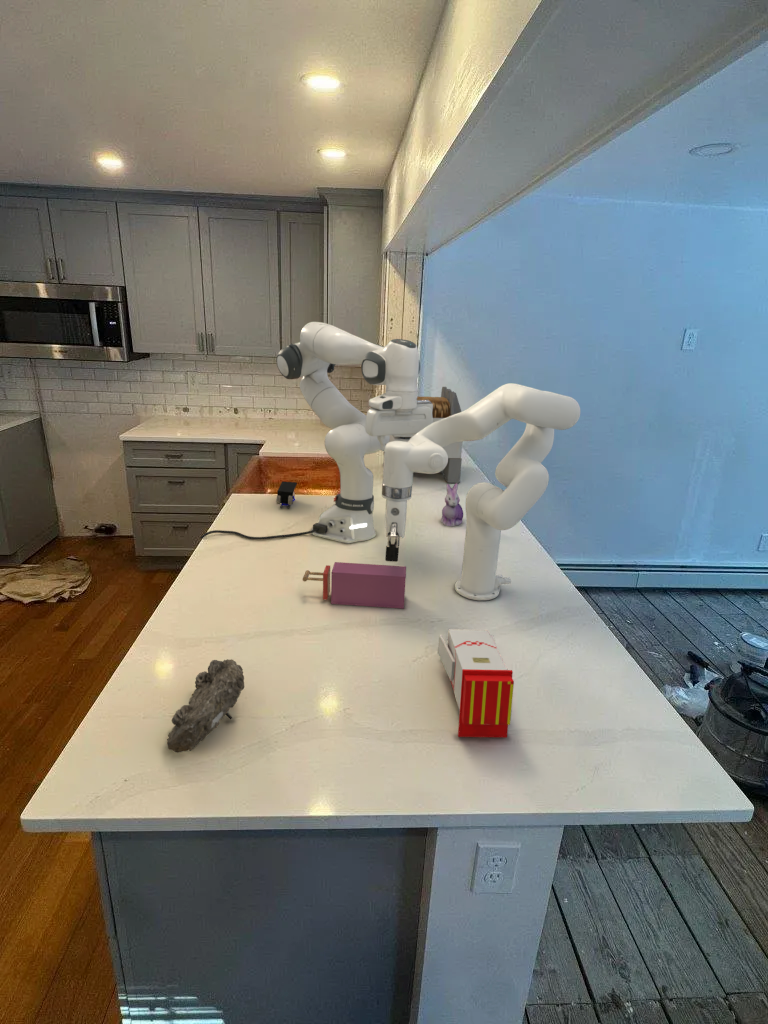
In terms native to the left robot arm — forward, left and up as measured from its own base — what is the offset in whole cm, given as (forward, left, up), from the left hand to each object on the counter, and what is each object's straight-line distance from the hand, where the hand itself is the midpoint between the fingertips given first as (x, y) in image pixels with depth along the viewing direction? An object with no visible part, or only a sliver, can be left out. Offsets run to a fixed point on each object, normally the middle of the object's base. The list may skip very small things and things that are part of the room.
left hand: (398, 449), depth 162 cm
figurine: (+11, +45, -37) cm, 59 cm away
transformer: (-15, +107, -37) cm, 114 cm away
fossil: (-15, -77, -37) cm, 87 cm away
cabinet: (-1, -23, -37) cm, 44 cm away
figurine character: (-54, +40, -37) cm, 77 cm away
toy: (+31, -53, -37) cm, 72 cm away
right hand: (+5, -22, -22) cm, 32 cm away
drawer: (-6, -24, -36) cm, 44 cm away
